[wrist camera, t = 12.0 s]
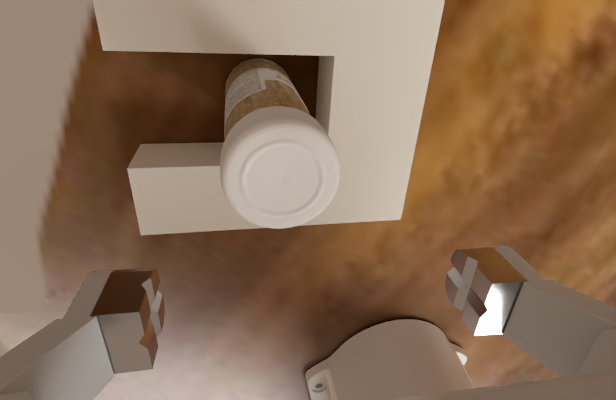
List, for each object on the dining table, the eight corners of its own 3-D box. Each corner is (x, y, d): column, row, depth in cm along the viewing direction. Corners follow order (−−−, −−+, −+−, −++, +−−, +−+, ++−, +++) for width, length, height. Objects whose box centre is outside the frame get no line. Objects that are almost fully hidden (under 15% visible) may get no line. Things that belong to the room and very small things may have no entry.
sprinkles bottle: (304, 99, 26) (365, 189, 15) (252, 137, 27) (270, 252, 15) (265, 40, 24) (300, 93, 12) (208, 83, 24) (191, 172, 13)
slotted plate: (381, 193, 31) (400, 219, 28) (151, 204, 28) (140, 235, 24) (419, -34, 23) (452, -37, 20) (104, -57, 20) (79, -65, 16)
